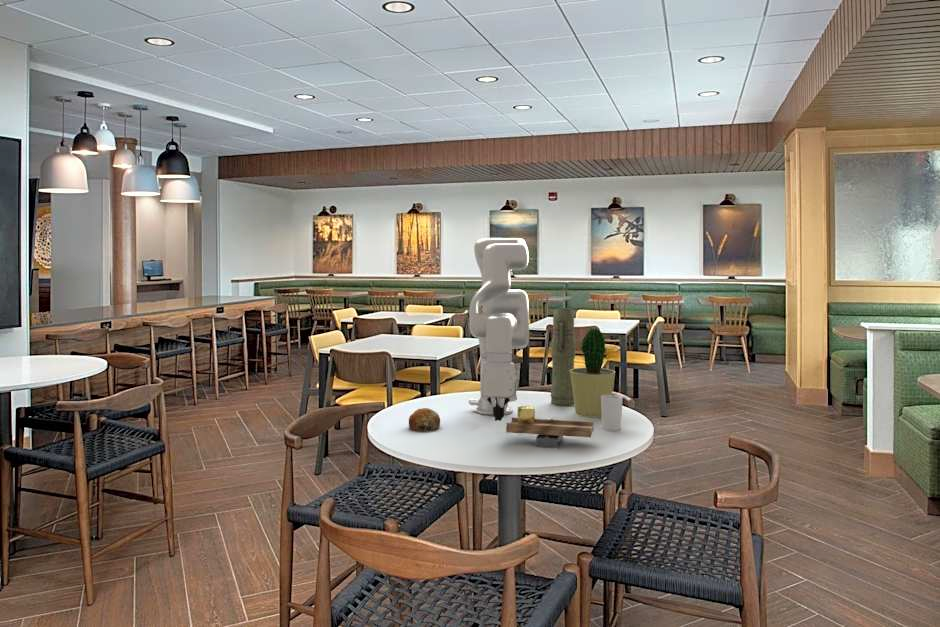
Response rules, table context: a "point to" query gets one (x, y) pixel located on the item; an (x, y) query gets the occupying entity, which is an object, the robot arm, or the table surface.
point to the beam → (552, 427)
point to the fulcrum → (548, 441)
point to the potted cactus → (591, 376)
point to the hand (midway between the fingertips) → (498, 419)
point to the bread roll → (424, 420)
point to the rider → (526, 415)
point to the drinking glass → (611, 412)
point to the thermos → (562, 357)
